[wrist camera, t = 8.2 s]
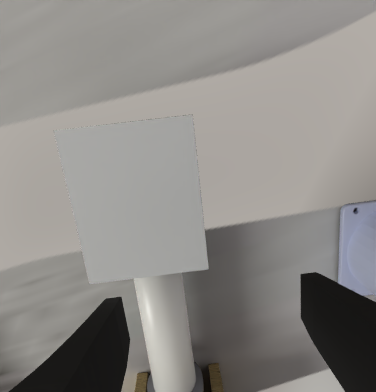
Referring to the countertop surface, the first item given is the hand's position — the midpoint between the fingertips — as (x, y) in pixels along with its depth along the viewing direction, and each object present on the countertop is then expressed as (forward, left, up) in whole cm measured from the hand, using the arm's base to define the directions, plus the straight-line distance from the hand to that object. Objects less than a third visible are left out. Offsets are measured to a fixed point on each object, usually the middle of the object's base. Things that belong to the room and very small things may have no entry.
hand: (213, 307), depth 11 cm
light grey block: (+3, -3, -10) cm, 11 cm away
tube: (+3, +7, -9) cm, 12 cm away
